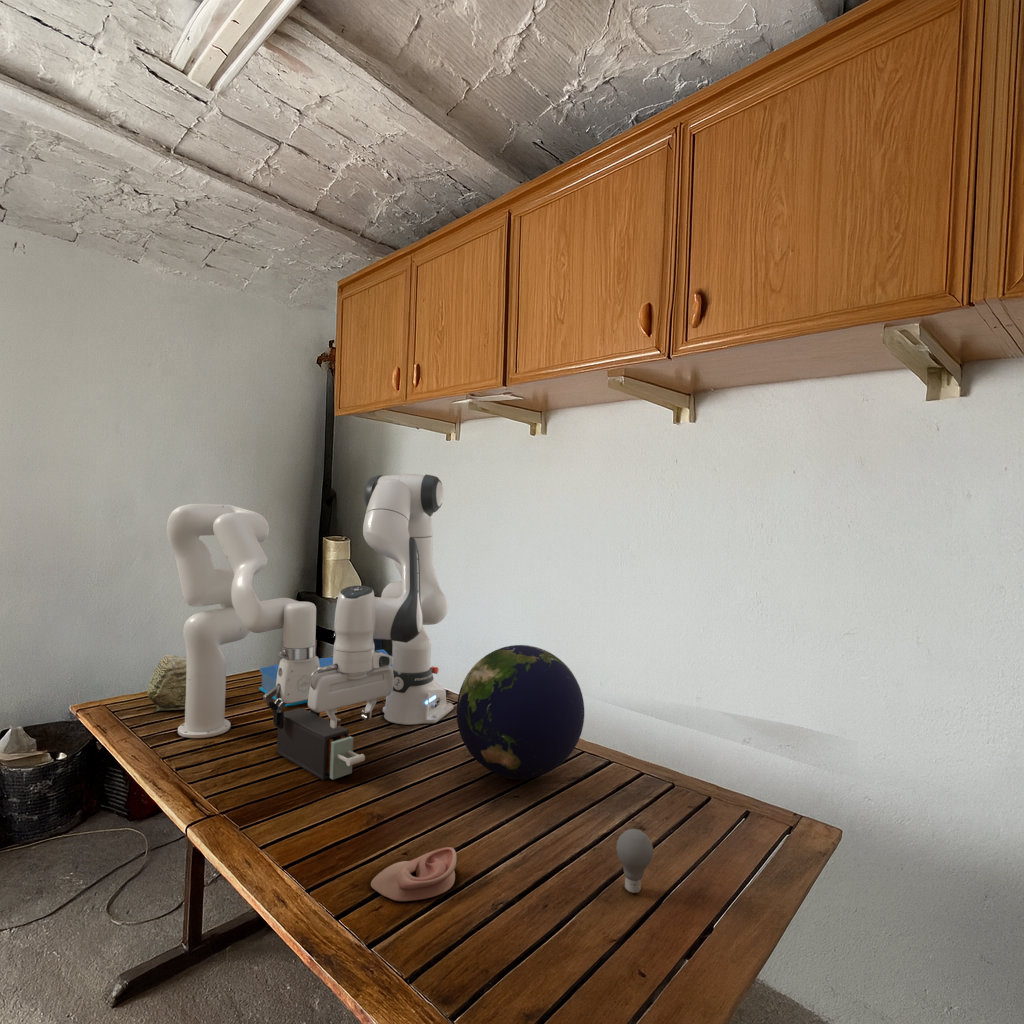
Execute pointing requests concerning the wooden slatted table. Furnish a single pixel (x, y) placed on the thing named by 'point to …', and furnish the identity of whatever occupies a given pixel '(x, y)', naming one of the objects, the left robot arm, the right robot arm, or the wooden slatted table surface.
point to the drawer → (341, 756)
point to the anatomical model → (418, 876)
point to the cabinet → (307, 740)
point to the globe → (520, 712)
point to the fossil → (169, 683)
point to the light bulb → (634, 857)
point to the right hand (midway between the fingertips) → (351, 722)
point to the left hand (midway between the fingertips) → (297, 722)
